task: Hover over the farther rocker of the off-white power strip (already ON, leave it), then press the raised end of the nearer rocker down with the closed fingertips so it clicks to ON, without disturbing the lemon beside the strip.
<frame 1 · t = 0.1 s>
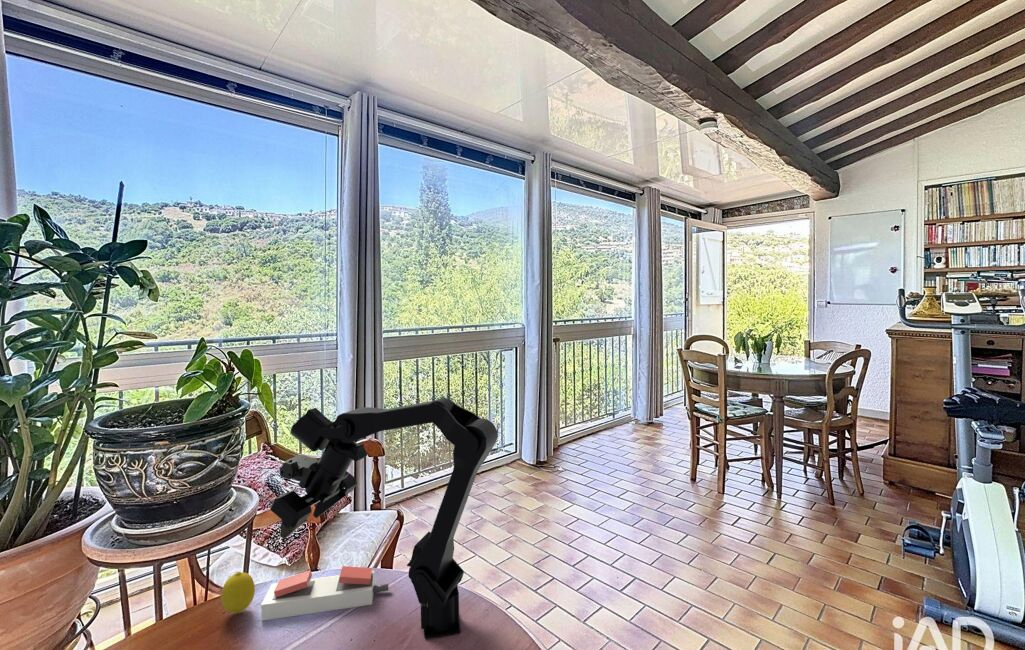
hand: (299, 526, 92), 15 cm above the table, tool tilted 30°, fingers open, 9 cm apart
power strip: (321, 601, 91), on the table
rocker 2: (355, 575, 93), point 4 cm above the table, hinge at -12.0°
lemon: (238, 614, 88), on the table
rocker 1: (293, 583, 90), point 4 cm above the table, hinge at 12.0°
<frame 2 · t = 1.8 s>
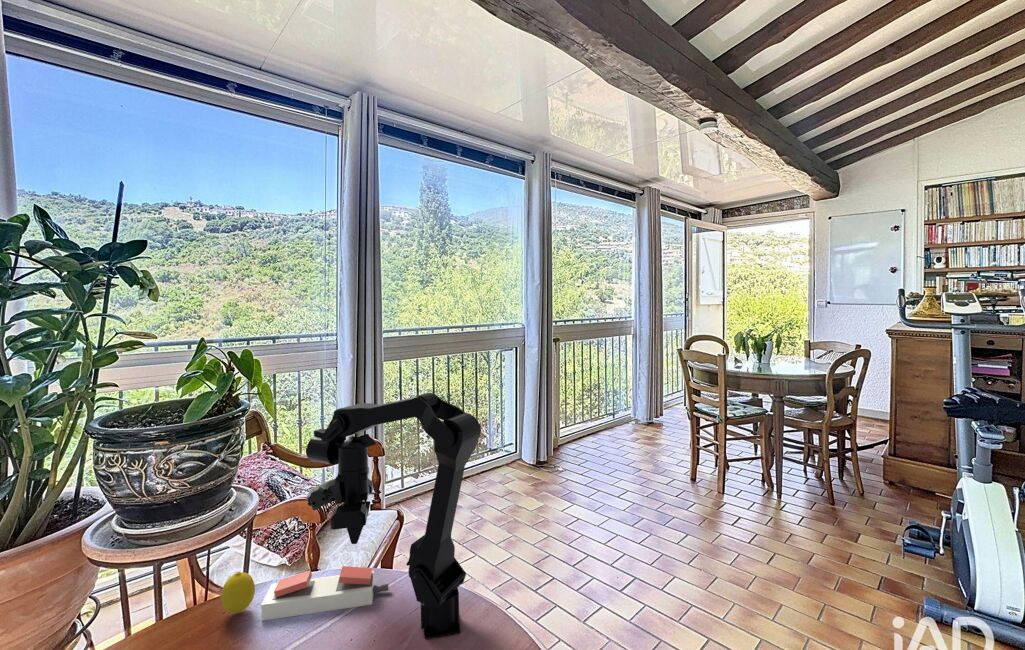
hand: (354, 543, 93), 11 cm above the table, tool pointing down, fingers closed
nothing on the table moved.
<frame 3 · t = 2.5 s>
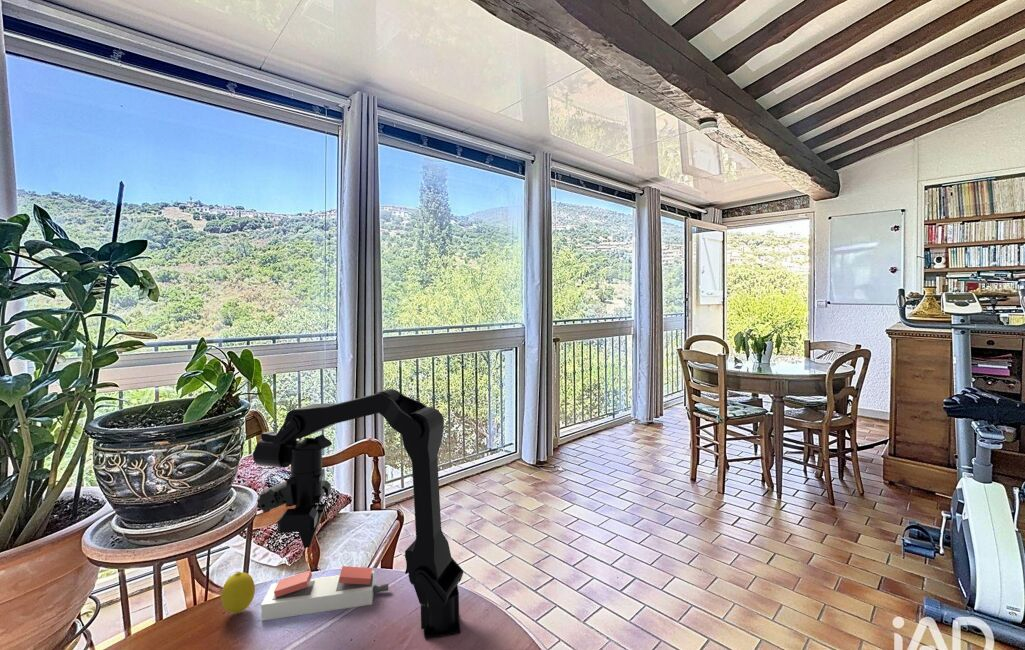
hand: (307, 546, 91), 11 cm above the table, tool pointing down, fingers closed
nothing on the table moved.
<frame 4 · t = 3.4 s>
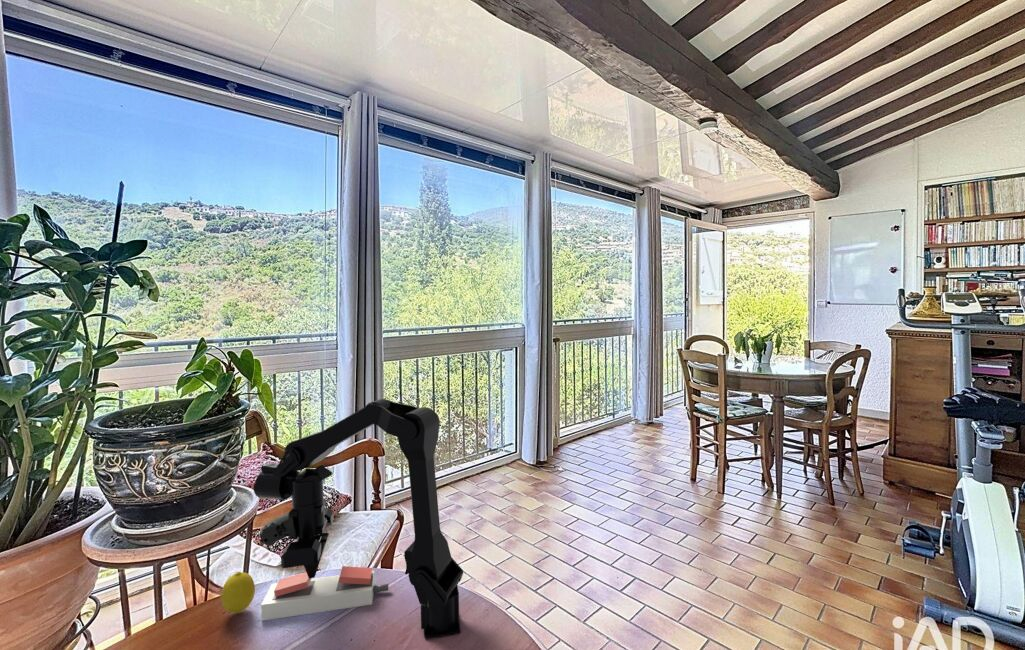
hand: (312, 577, 91), 5 cm above the table, tool pointing down, fingers closed, pressing on rocker 1
rocker 1: (293, 583, 90), point 4 cm above the table, hinge at 9.3°, touching gripper
everything else where it was.
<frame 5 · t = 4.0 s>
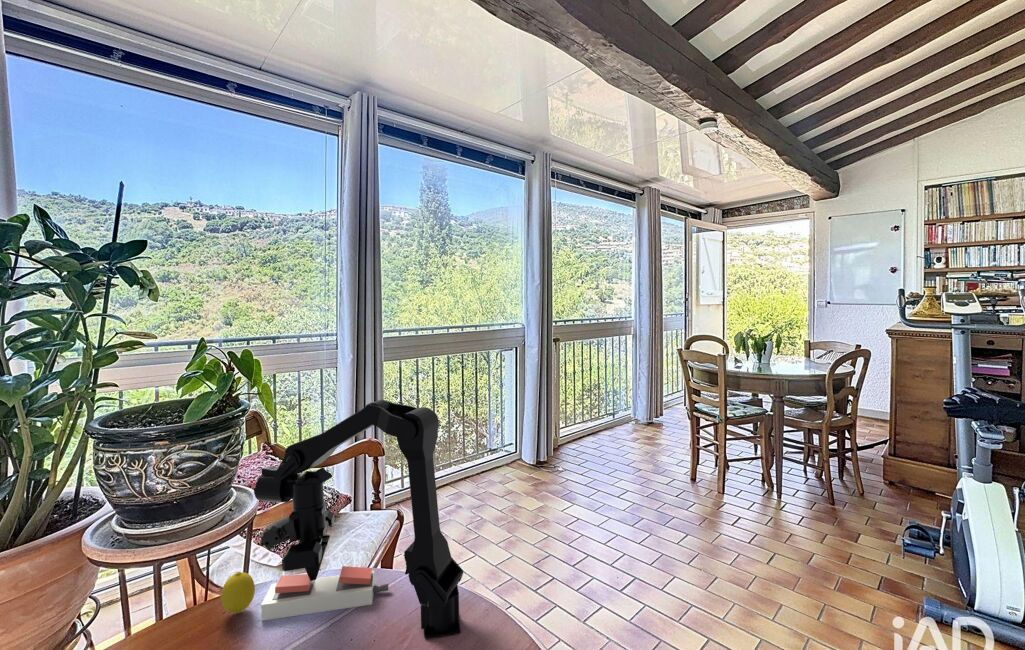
hand: (313, 579, 91), 5 cm above the table, tool pointing down, fingers closed, pressing on rocker 1
rocker 1: (294, 583, 90), point 4 cm above the table, hinge at -4.0°, touching gripper
everything else where it was.
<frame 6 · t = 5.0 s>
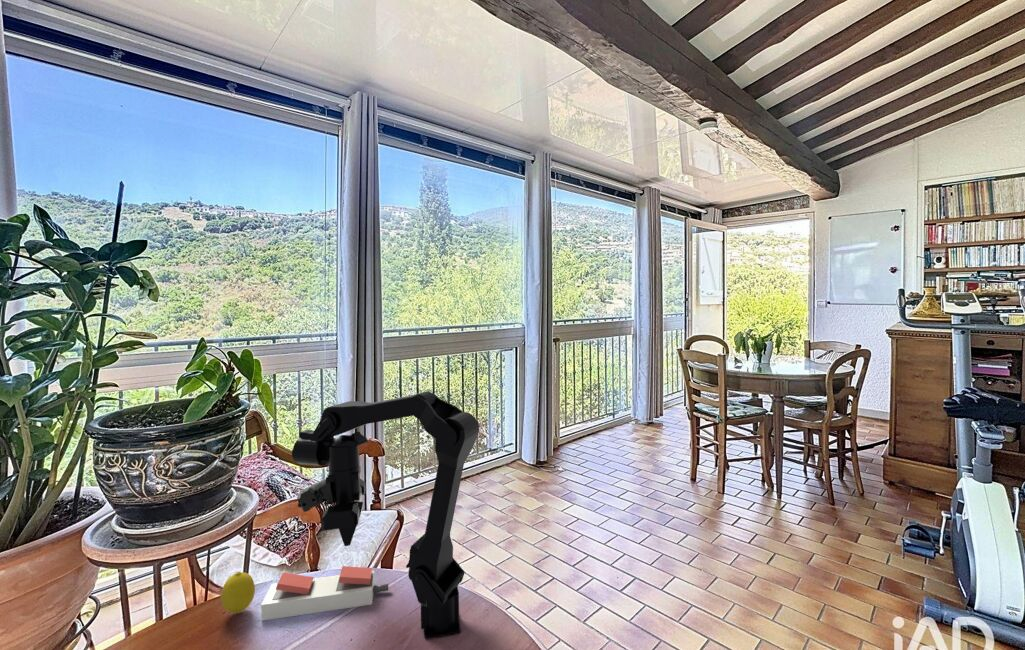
hand: (347, 545, 90), 12 cm above the table, tool pointing down, fingers closed
rocker 1: (295, 583, 90), point 4 cm above the table, hinge at -17.8°, touching power strip
everything else where it was.
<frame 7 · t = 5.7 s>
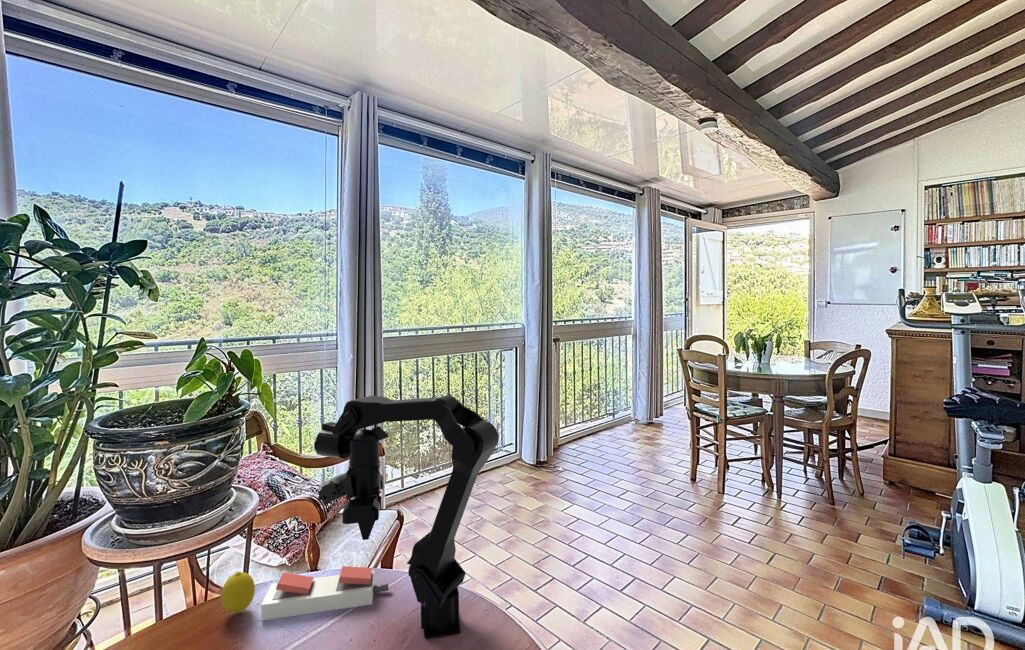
hand: (365, 538, 90), 13 cm above the table, tool pointing down, fingers closed
nothing on the table moved.
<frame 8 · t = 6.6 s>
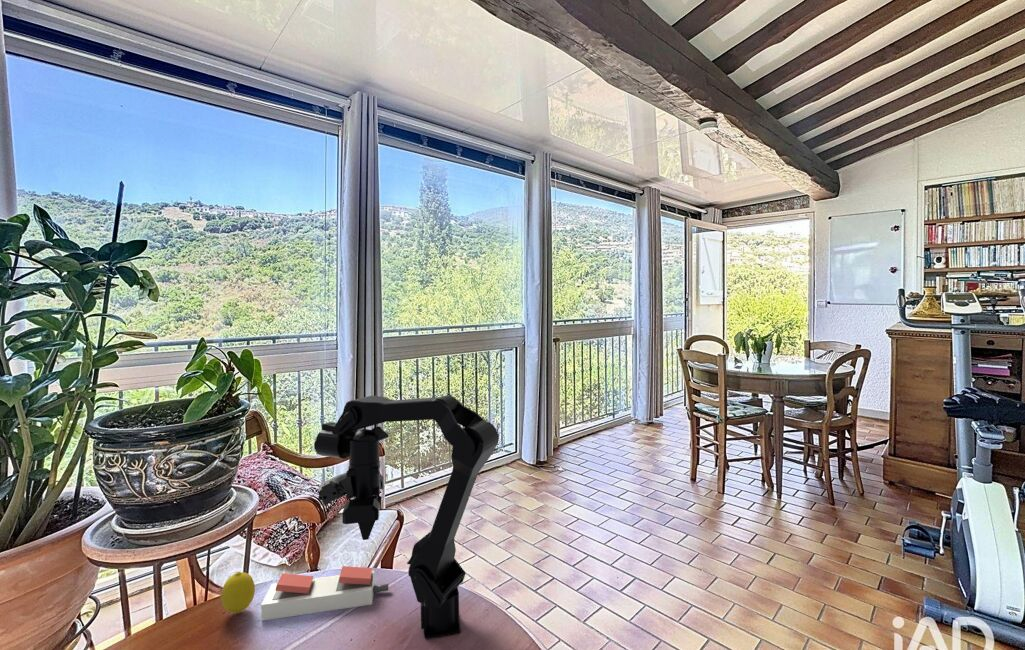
hand: (365, 538, 90), 13 cm above the table, tool pointing down, fingers closed
rocker 1: (295, 583, 90), point 4 cm above the table, hinge at -14.1°, touching power strip
everything else where it was.
at the end: rocker 1 at -14° (first picture: +12°); rocker 2 at -12° (first picture: -12°); lemon moved 0.2 cm from its start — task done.
